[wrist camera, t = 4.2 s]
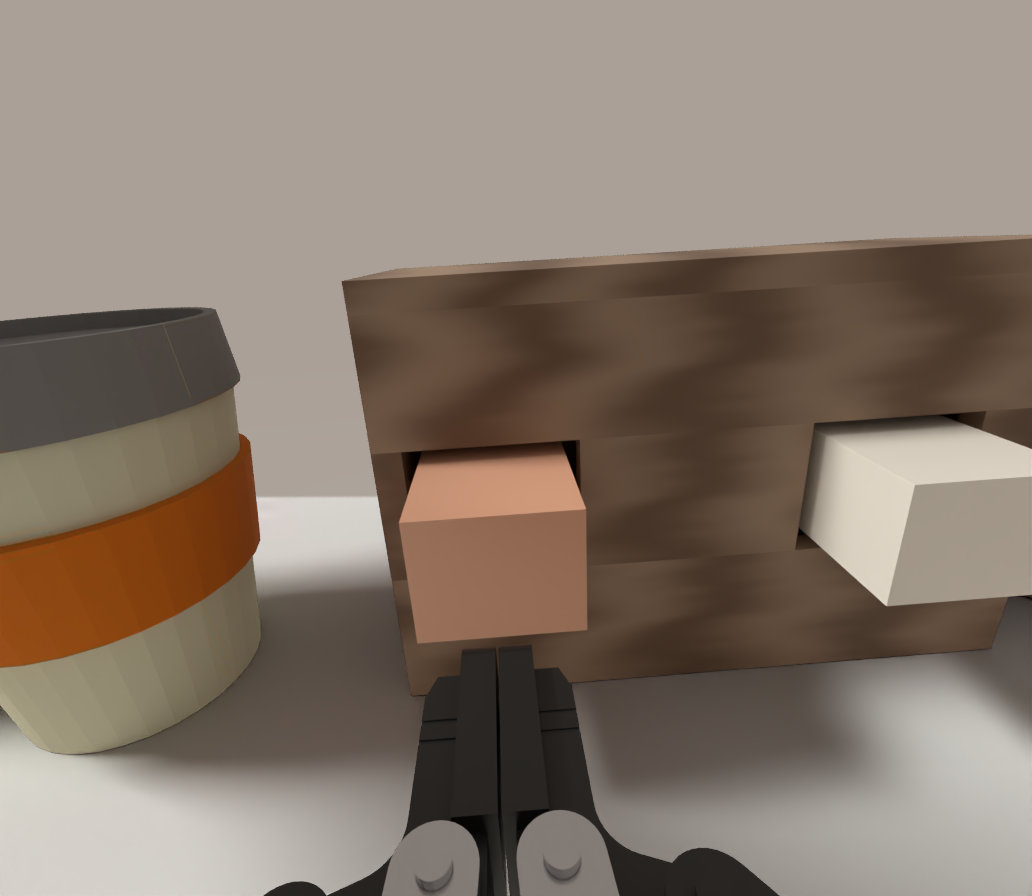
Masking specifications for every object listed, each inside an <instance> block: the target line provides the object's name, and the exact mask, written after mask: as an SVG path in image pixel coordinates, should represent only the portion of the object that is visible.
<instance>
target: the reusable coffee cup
mask: <svg viewBox="0 0 1032 896" xmlns="http://www.w3.org/2000/svg"><path fill="white" fill-rule="evenodd" d="M239 381H240V374H239V371H238V369H237V366H236V363H235V360H234V357H233V355H232V352H231V350H230V347H229V344H228V342H227V339H226V336H225V333H224V331H223V328H222V325H221V323H220V320H219V317H218V315H217V312H216V310H215V309H211V308H201V307H200V308H198V307H194V308H193V307H187V308H186V307H184V308H183V307H182V308H155V309H136V310H121V311H107V312H94V313H81V314H70V315H58V316H47V317H37V318H26V319H16V320H6V321H0V705H1V707H2V708H3V709H4V710H5V711H6V713H7V714H8V715H9V716H10V717H11V718H12V720H13V721H14V722H15V723H16V724H17V726H18V727H19V728H20V729H21V730H22V731H23V733H24V734H25V735H26V736H27V737H28V738H29V739H30V740H31V741H32V742H33V743H34V744H35V745H36V746H37V747H39V748H41V749H44V750H47V751H49V752H52V753H61V754H72V755H73V754H84V753H94V752H100V751H104V750H109V749H113V748H117V747H121V746H125V745H127V744H130V743H133V742H136V741H139V740H141V739H144V738H147V737H150V736H152V735H154V734H156V733H158V732H160V731H162V730H165V729H167V728H169V727H171V726H173V725H175V724H177V723H179V722H180V721H182V720H184V719H185V718H187V717H189V716H190V715H192V714H194V713H195V712H197V711H199V710H200V709H202V708H203V707H204V706H206V705H207V704H208V703H210V702H211V701H212V700H214V699H215V698H216V697H218V696H219V695H220V694H222V693H223V692H224V691H225V690H226V689H227V688H228V687H229V686H230V685H231V684H232V683H233V682H234V681H235V680H237V679H238V677H239V676H240V675H241V674H242V672H243V671H244V670H245V669H246V668H247V666H248V665H249V664H250V662H251V660H252V659H253V657H254V655H255V653H256V651H257V650H258V646H259V643H260V639H261V626H260V618H259V609H258V600H257V591H256V582H255V573H254V565H253V555H254V553H255V552H256V549H257V547H258V544H259V541H260V530H259V521H258V511H257V502H256V493H255V483H254V474H253V465H252V457H251V446H250V441H249V440H248V439H247V438H246V437H245V436H244V435H242V434H239V433H238V424H237V415H236V407H235V398H234V389H233V387H234V386H235V385H236V384H237V383H238V382H239Z"/></svg>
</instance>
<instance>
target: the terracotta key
mask: <svg viewBox="0 0 1032 896" xmlns="http://www.w3.org/2000/svg"><path fill="white" fill-rule="evenodd" d="M399 528H400V534H401V541H402V547H403V553H404V560H405V566H406V573H407V579H408V586H409V592H410V599H411V605H412V612H413V618H414V625H415V631H416V638H417V644H418V643H431V642H443V641H456V640H469V639H481V638H494V637H506V636H519V635H531V634H544V633H557V632H569V631H582V630H587V549H586V508H585V505H584V502H583V500H582V497H581V494H580V492H579V489H578V486H577V483H576V481H575V478H574V475H573V473H572V470H571V467H570V465H569V462H568V459H567V457H566V454H565V451H564V449H563V446H562V443H561V441H553V442H539V443H525V444H511V445H497V446H482V447H468V448H454V449H440V450H425V451H422V454H421V457H420V460H419V463H418V466H417V469H416V472H415V475H414V478H413V481H412V484H411V487H410V490H409V493H408V496H407V499H406V502H405V506H404V509H403V512H402V515H401V518H400V521H399Z"/></svg>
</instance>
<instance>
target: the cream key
mask: <svg viewBox="0 0 1032 896" xmlns="http://www.w3.org/2000/svg"><path fill="white" fill-rule="evenodd" d="M799 528H800V529H801V530H802V531H803V532H804V533H806V534H807V535H808V536H809V537H810V538H811V539H812V540H813V541H814V542H816V543H817V544H818V545H819V546H820V547H821V548H822V549H823V550H824V551H826V552H827V553H828V554H829V555H830V556H831V557H832V558H833V559H834V560H836V561H837V562H838V563H839V564H840V565H841V566H842V567H843V568H844V569H846V570H847V571H848V572H849V573H850V574H851V575H852V576H853V577H854V578H856V579H857V580H858V581H859V582H860V583H861V584H862V585H863V586H864V587H866V588H867V589H868V590H869V591H870V592H871V593H872V594H873V595H874V596H876V597H877V598H878V599H879V600H880V601H881V602H882V603H883V604H884V605H886V606H896V605H909V604H922V603H934V602H947V601H959V600H972V599H984V598H997V597H1010V596H1022V595H1032V449H1030V448H1028V447H1025V446H1022V445H1019V444H1017V443H1014V442H1011V441H1009V440H1006V439H1003V438H1000V437H998V436H995V435H992V434H990V433H987V432H984V431H982V430H979V429H976V428H973V427H971V426H968V425H965V424H963V423H960V422H957V421H954V420H952V419H949V418H946V417H944V416H941V415H938V414H937V415H923V416H909V417H895V418H880V419H866V420H852V421H838V422H823V423H814V430H813V436H812V443H811V449H810V456H809V462H808V469H807V475H806V482H805V488H804V495H803V501H802V508H801V514H800V521H799Z"/></svg>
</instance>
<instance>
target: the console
mask: <svg viewBox="0 0 1032 896" xmlns="http://www.w3.org/2000/svg"><path fill="white" fill-rule="evenodd" d="M342 286H343V291H344V298H345V304H346V310H347V316H348V322H349V328H350V334H351V340H352V345H353V352H354V358H355V363H356V370H357V376H358V382H359V387H360V394H361V399H362V405H363V411H364V417H365V423H366V429H367V435H368V441H369V447H370V453H371V459H372V465H373V471H374V477H375V483H376V489H377V495H378V501H379V507H380V513H381V519H382V525H383V531H384V537H385V543H386V549H387V555H388V561H389V567H390V573H391V579H392V585H393V591H394V597H395V602H396V608H397V614H398V620H399V626H400V632H401V638H402V644H403V650H404V656H405V662H406V668H407V674H408V680H409V686H410V692H411V696H416V695H427V694H428V693H429V691H430V689H431V688H432V686H433V685H434V683H435V681H436V680H437V678H438V677H444V676H457V675H460V669H461V655H462V649H468V648H481V647H493V646H496V653H497V664H498V675H499V655H498V646H504V645H517V644H529V643H531V644H532V653H533V662H534V669H542V668H555V667H558V668H559V669H560V671H561V672H562V673H563V675H564V676H565V677H566V679H567V680H568V682H569V683H574V682H587V681H599V680H611V679H623V678H636V677H648V676H660V675H672V674H684V673H697V672H709V671H721V670H733V669H745V668H758V667H770V666H782V665H794V664H806V663H819V662H831V661H843V660H855V659H867V658H880V657H892V656H904V655H916V654H928V653H941V652H953V651H965V650H977V649H989V648H991V647H992V644H993V641H994V638H995V635H996V632H997V629H998V626H999V623H1000V620H1001V617H1002V614H1003V611H1004V608H1005V605H1006V602H1007V599H1008V597H997V598H984V599H972V600H959V601H947V602H934V603H922V604H909V605H896V606H886V605H884V604H883V603H882V602H881V601H880V600H879V599H878V598H877V597H876V596H874V595H873V594H872V593H871V592H870V591H869V590H868V589H867V588H866V587H864V586H863V585H862V584H861V583H860V582H859V581H858V580H857V579H856V578H854V577H853V576H852V575H851V574H850V573H849V572H848V571H847V570H846V569H844V568H843V567H842V566H841V565H840V564H839V563H838V562H837V561H836V560H834V559H833V558H832V557H831V556H830V555H829V554H828V553H827V552H826V551H824V550H823V549H822V548H821V547H820V546H819V545H818V544H817V543H816V542H814V541H813V540H812V539H811V538H810V537H809V536H808V535H807V534H806V533H804V532H803V531H802V530H801V529H800V528H799V521H800V514H801V508H802V501H803V495H804V488H805V482H806V475H807V469H808V462H809V456H810V449H811V443H812V436H813V430H814V423H823V422H838V421H852V420H866V419H880V418H895V417H909V416H923V415H937V414H938V415H941V416H944V417H946V418H949V419H952V420H954V421H957V422H960V423H963V424H965V425H968V426H971V427H973V428H976V429H979V430H982V431H984V432H987V433H990V434H992V435H995V436H998V437H1000V438H1003V439H1006V440H1009V441H1011V442H1014V443H1017V444H1019V445H1022V446H1025V447H1028V448H1030V449H1032V235H1004V236H968V237H967V236H964V237H927V238H926V237H924V238H890V239H874V240H858V241H844V242H825V243H811V244H793V245H778V246H760V247H744V248H728V249H712V250H697V251H681V252H680V251H679V252H663V253H647V254H632V255H614V256H600V257H599V256H598V257H583V258H566V259H550V260H534V261H518V262H501V263H485V264H469V265H452V266H436V267H420V268H404V269H395V270H390V271H385V272H381V273H377V274H372V275H367V276H363V277H359V278H354V279H350V280H345V281H342ZM553 441H561V443H562V446H563V449H564V451H565V454H566V457H567V459H568V462H569V465H570V467H571V470H572V473H573V475H574V478H575V481H576V483H577V486H578V489H579V492H580V494H581V497H582V500H583V502H584V505H585V508H586V549H587V630H582V631H569V632H557V633H544V634H531V635H519V636H506V637H494V638H481V639H469V640H456V641H443V642H431V643H418V644H417V638H416V631H415V625H414V618H413V612H412V605H411V599H410V592H409V586H408V579H407V573H406V566H405V560H404V553H403V547H402V541H401V534H400V528H399V521H400V518H401V515H402V512H403V509H404V506H405V502H406V499H407V496H408V493H409V490H410V487H411V484H412V481H413V478H414V475H415V472H416V469H417V466H418V463H419V460H420V457H421V454H422V451H425V450H440V449H454V448H468V447H482V446H497V445H511V444H525V443H539V442H553Z"/></svg>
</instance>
